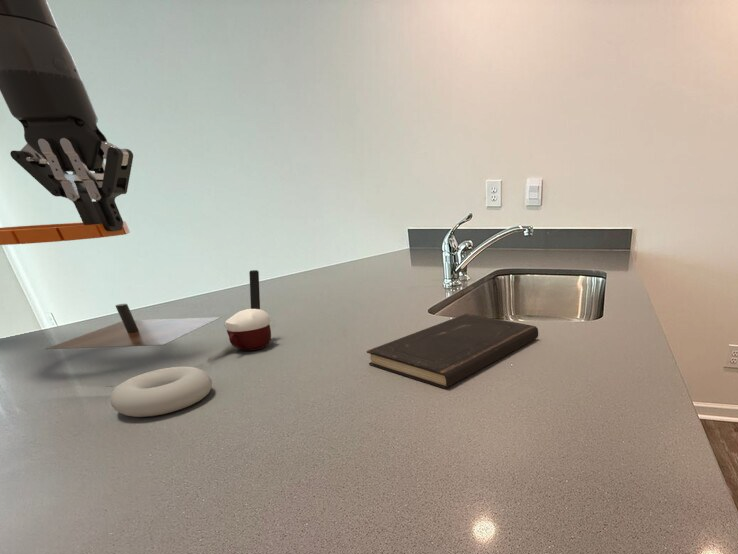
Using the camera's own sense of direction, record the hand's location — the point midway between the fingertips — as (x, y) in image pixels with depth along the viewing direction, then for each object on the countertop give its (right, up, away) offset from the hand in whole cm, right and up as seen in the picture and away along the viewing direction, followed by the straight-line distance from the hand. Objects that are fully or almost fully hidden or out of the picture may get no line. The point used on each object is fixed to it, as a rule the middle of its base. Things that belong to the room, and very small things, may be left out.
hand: (106, 230), depth 55 cm
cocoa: (+12, -15, +14) cm, 24 cm away
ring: (-7, -1, 0) cm, 7 cm away
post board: (-12, -13, +19) cm, 26 cm away
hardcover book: (+47, -16, +10) cm, 51 cm away
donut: (+12, -23, -4) cm, 27 cm away
